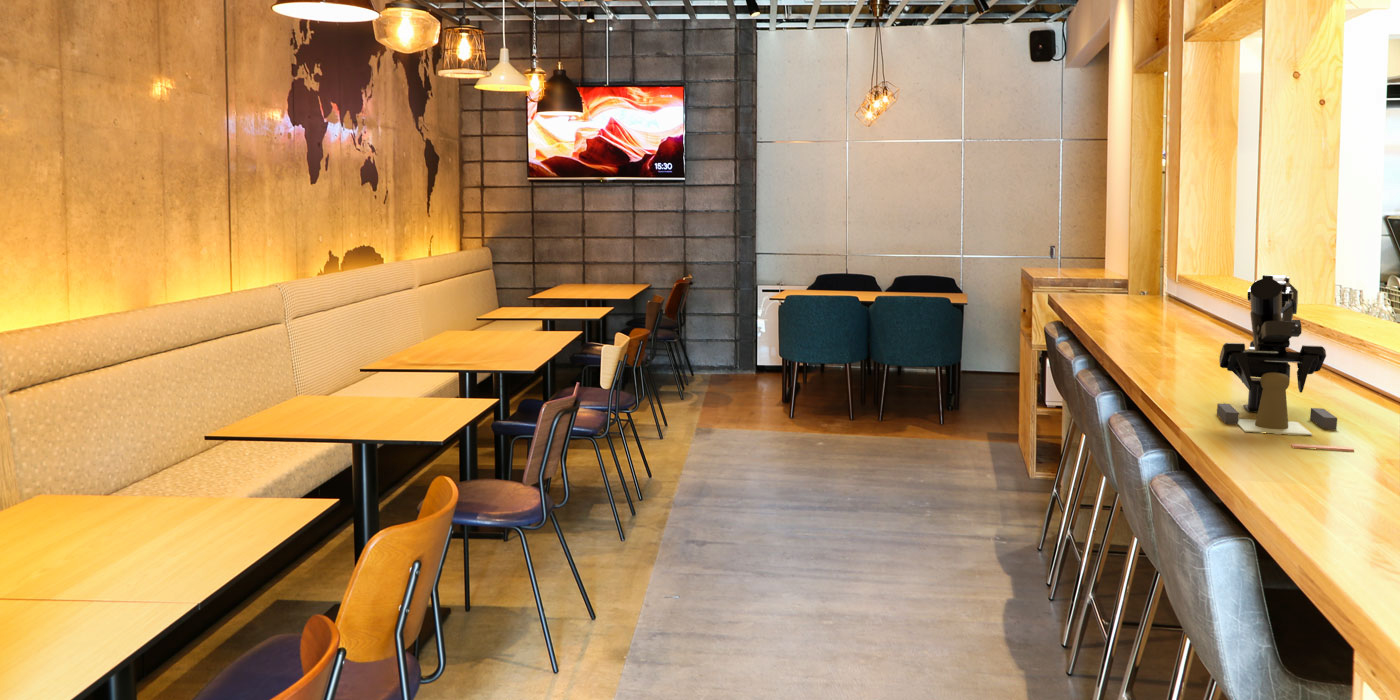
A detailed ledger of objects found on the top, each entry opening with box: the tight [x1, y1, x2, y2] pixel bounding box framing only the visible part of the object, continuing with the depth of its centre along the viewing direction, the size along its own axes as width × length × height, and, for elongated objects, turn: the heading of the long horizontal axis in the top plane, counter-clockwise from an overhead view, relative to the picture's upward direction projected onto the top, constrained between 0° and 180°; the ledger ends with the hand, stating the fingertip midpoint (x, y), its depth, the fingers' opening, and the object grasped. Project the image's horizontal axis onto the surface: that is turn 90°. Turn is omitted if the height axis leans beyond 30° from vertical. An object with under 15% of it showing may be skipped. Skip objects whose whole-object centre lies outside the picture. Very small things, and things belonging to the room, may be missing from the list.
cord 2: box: [1309, 407, 1338, 430], centre depth 213 cm, size 10×2×2 cm, turn 163°
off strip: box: [1290, 443, 1355, 453], centre depth 192 cm, size 2×10×1 cm, turn 73°
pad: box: [1236, 418, 1313, 437], centre depth 210 cm, size 12×12×1 cm
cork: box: [1255, 372, 1291, 429], centre depth 209 cm, size 6×6×11 cm
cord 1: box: [1216, 403, 1240, 425], centre depth 218 cm, size 10×2×2 cm, turn 163°
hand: (1275, 390), depth 207 cm, fingers open, 9 cm apart
